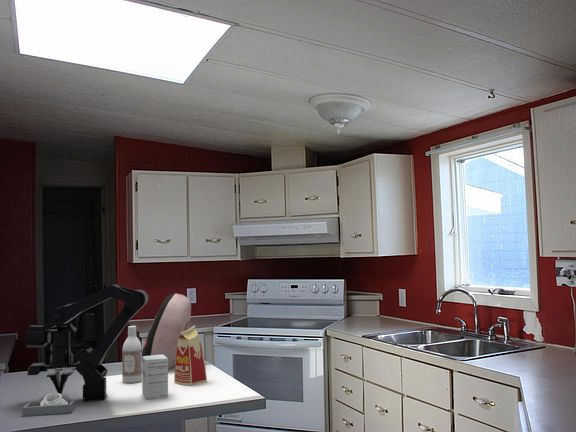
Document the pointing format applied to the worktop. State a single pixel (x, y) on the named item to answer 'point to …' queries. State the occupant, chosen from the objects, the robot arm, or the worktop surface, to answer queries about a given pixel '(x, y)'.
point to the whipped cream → (53, 400)
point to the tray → (48, 409)
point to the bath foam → (132, 358)
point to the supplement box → (155, 376)
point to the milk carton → (189, 359)
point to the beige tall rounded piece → (168, 328)
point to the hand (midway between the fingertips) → (60, 394)
